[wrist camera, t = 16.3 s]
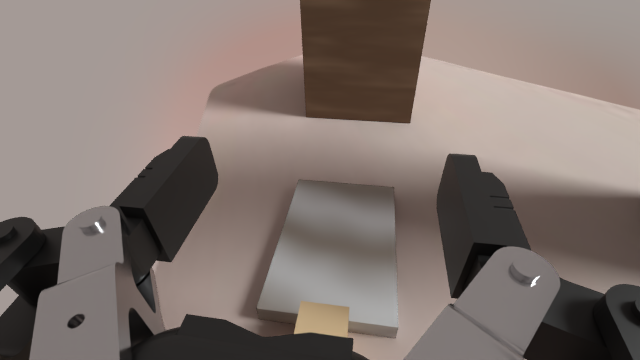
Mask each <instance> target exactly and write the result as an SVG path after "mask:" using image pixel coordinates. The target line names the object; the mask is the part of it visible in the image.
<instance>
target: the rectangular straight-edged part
mask: <svg viewBox="0 0 640 360" xmlns="http://www.w3.org/2000/svg"><path fill="white" fill-rule="evenodd" d="M256 309H257V313H258V317H259V319H263V320H270V321H277V322H284V323H291V324H296V326H295V330H294V334H299V333H308V332H312V333H319V334H326V335H333V336H339V337H346V338H347V336H348V332H355V333H362V334H369V335H376V336H383V337H390V338H396V335H397V331H398V300H397V268H396V236H395V204H394V187H385V186H373V185H361V184H348V183H336V182H323V181H311V180H298V183H297V186H296V190H295V193H294V196H293V199H292V202H291V205H290V208H289V211H288V214H287V217H286V220H285V223H284V226H283V229H282V232H281V235H280V238H279V241H278V244H277V247H276V250H275V253H274V256H273V259H272V262H271V265H270V268H269V271H268V274H267V277H266V280H265V283H264V286H263V290H262V293H261V296H260V299H259V302H258V305H257V308H256Z"/></svg>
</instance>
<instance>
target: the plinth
mask: <svg viewBox="0 0 640 360" xmlns="http://www.w3.org/2000/svg"><path fill="white" fill-rule="evenodd" d="M430 2H431V0H300V9H301V28H302V46H303V65H304V84H305V103H306V117H315V118H332V119H349V120H367V121H384V122H401V123H410V120H411V114H412V108H413V103H414V97H415V91H416V85H417V79H418V73H419V67H420V61H421V55H422V49H423V43H424V37H425V32H426V26H427V20H428V14H429V8H430Z"/></svg>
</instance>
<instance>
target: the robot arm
mask: <svg viewBox="0 0 640 360" xmlns="http://www.w3.org/2000/svg"><path fill="white" fill-rule="evenodd" d="M145 168H146V169H143V171H142V172H141V173H140V174H139V175H138V178H135V179H134V180H133V181H132V182H131V183H130V184H129V185H128V186H127V188H126V189H125V190H124V191H123V192H122V193H121V194H120V195H119V196H118V197H117V198H116V199H115V201H113V203H112V204H111V205H110V206H100V207H95V208H92V209H89V210H86V211H84V212H82V213H80V214H79V215H77V216H75V217H74V218H73V219H72V220H71V221H70V222H68V224H67V225H66V226H65V227H58V228H51V229H45V230H41V229H40V228H39V227H38V225H36V223H35V222H34V221H33V220H32V219H30V218H27V217H18V218H12V219H9V220H5V221H3V222H0V291H1V290H2V289H3V288H4V286H6V284H7V285H8V286H9V287H10V288H11V289H13V290H14V291H15V292H16V293H17V294H18V295H19V296H18V297H17V298H16V300H15V301H14V302H13V303H12V304H11V305H10V306H9V308H8V309H7V310H6V311H5V312H4V313H3V314H2V315H1V317H0V360H369V359H367V358H365V357H364V356H362V355H360V354H358V353H356V352H353V351H352V350H353V338H346V337H339V336H333V335H326V334H319V333H312V332H308V333H299V334H291V335H282V336H273V337H262V336H259V335H257V334H255V333H252V332H250V331H248V330H246V329H244V328H242V327H240V326H237V325H235V324H233V323H231V322H229V321H227V320H223V319H216V318H209V317H202V316H195V315H188V314H186V316H185V318H184V320H183V322H182V324H181V326H180V327H178V328H174V329H170V330H166V329H165V327H164V324H163V320H162V316H161V310H160V304H159V298H158V291H157V285H156V279H155V274H154V271H153V269H152V266H153V264H154V263H155V261H156V260H157V261H165V262H172V260H173V258H174V257H175V255H176V254H177V252H178V250H179V249H180V247H181V245H182V244H183V242H184V241H185V239H186V237H187V236H188V234H189V232H190V231H191V229H192V227H193V226H194V224H195V223H196V221H197V219H198V218H199V216H200V214H201V213H202V211H203V210H204V208H205V206H206V205H207V203H208V201H209V200H210V198H211V196H212V195H213V193H214V192H215V190H216V188H217V184H218V172H217V169H216V165H215V162H214V158H213V155H212V151H211V148H210V144H209V142H208V140H207V139H206V138H204V137H189V136H182V137H181V138H180V139H179V140H178V141H177V142H176V143H175V144H174V145H173V147H172V148H171V149H168V150H166V151H165V152H163V153H161V154H160V155H158V156H156V157H155V158H154V159H153V160H152V161H151V162H150V163H149V164H148V165H147V166H146V167H145ZM513 208H514V207H513V205H512V203H511V200H509V195H508V193H507V191H506V188H505V186H504V184H503V183H502V182H501V181H500V180H499V179H498V178H497V177H496V176H495V175H494V174H493V173H488V172H481V169H480V166H479V163H478V160H477V158H476V156H475V155H462V154H449V155H448V157H447V159H446V163H445V167H444V170H443V174H442V178H441V182H440V186H439V189H438V194H437V213H438V219H439V225H440V232H441V238H442V244H443V250H444V257H445V263H446V269H447V275H448V282H449V288H450V294H451V298H457V299H458V300H457V301H456V302H455V303H454V304H453V305H452V304H449V305H448V306H447V307H446V308H445V309H444V310H443V311H442V312H441V314H440V315H439V316H438V317H437V318H436V320H435V321H434V322H433V323H432V325H431V326H430V327H429V328H428V330H427V331H426V332H425V333H424V335H423V336H422V337H421V338H420V340H419V341H418V342H417V343H416V345H415V346H414V347H413V348H412V350H411V351H410V352H409V353H408V355H407V356H406V357H405V358H404V360H524V358H525V359H527V360H640V287H639V286H635V285H628V284H620V285H616V286H613V287H611V288H610V289H609V290H608V291H607V292H606V293H605V294H603V293H600V292H597V291H594V290H591V289H588V288H585V287H583V286H580V285H577V284H574V283H571V282H569V281H566V280H564V279H562V278H560V277H559V276H558V273H557V272H556V270H555V268H554V267H553V266H552V265H551V264H550V263H549V262H548V261H547V260H546V259H544V258H543V257H542V256H540V255H538V254H537V253H535V252H533V251H531V248H530V246H529V244H528V241H527V239H526V236H525V234H524V232H523V229H522V227H521V224H520V222H519V220H518V217H517V215H516V212H515V211H514V210H513Z"/></svg>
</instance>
